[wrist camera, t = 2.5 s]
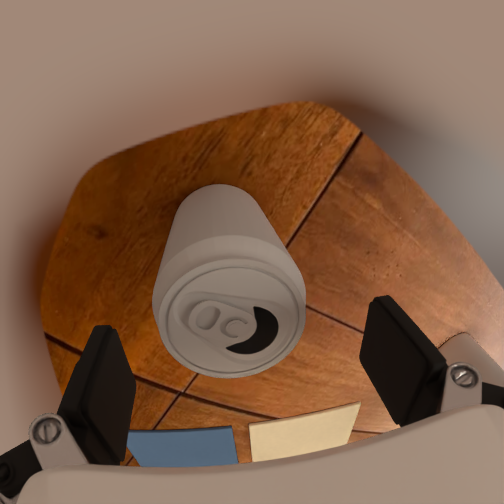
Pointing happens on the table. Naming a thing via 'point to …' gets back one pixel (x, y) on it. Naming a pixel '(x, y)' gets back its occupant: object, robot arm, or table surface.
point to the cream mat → (302, 433)
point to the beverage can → (227, 287)
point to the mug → (472, 358)
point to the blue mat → (183, 447)
